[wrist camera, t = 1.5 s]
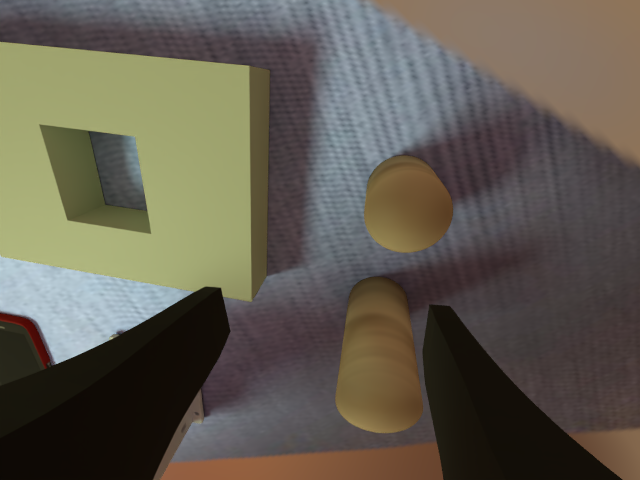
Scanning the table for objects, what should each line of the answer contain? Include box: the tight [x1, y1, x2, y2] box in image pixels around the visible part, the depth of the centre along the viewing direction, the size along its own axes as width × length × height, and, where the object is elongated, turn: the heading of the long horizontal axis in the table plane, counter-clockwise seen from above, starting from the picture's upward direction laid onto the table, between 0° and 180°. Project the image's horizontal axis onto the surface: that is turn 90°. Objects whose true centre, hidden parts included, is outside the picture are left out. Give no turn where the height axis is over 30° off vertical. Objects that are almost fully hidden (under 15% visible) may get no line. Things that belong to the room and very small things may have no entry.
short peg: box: [364, 155, 453, 253], centre depth 16 cm, size 4×4×4 cm
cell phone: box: [0, 313, 52, 386], centre depth 32 cm, size 8×15×1 cm, turn 176°
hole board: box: [0, 42, 270, 302], centre depth 19 cm, size 13×18×3 cm
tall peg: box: [335, 277, 423, 433], centre depth 18 cm, size 4×4×8 cm
